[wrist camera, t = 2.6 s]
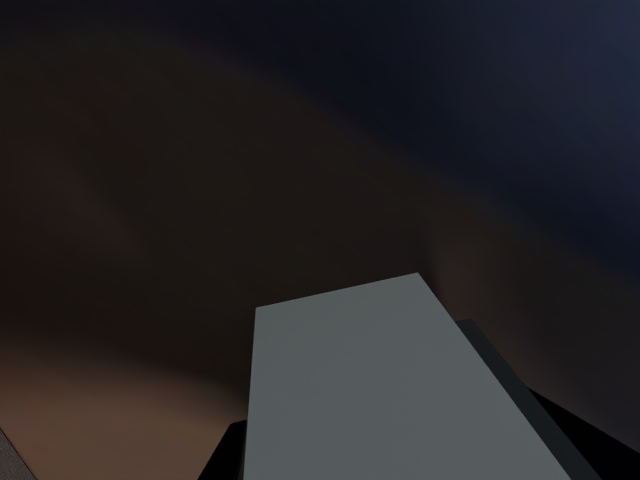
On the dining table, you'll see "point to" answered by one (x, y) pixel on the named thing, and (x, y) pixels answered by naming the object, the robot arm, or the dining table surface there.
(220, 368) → the dining table surface
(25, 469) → the rail
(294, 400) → the matte gray box
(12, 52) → the dining table surface
